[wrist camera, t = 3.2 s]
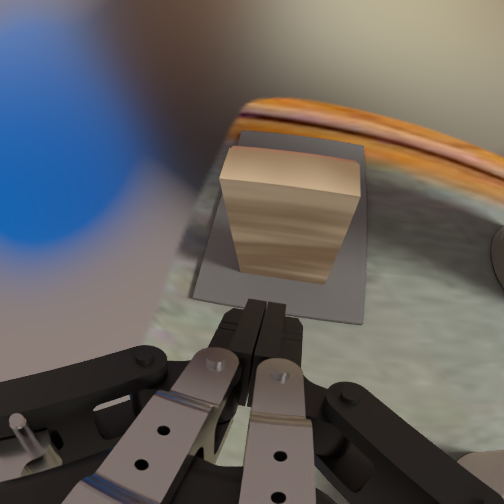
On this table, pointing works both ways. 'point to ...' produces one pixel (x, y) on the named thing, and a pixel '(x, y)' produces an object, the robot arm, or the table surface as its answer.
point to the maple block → (288, 210)
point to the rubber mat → (283, 290)
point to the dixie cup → (486, 468)
